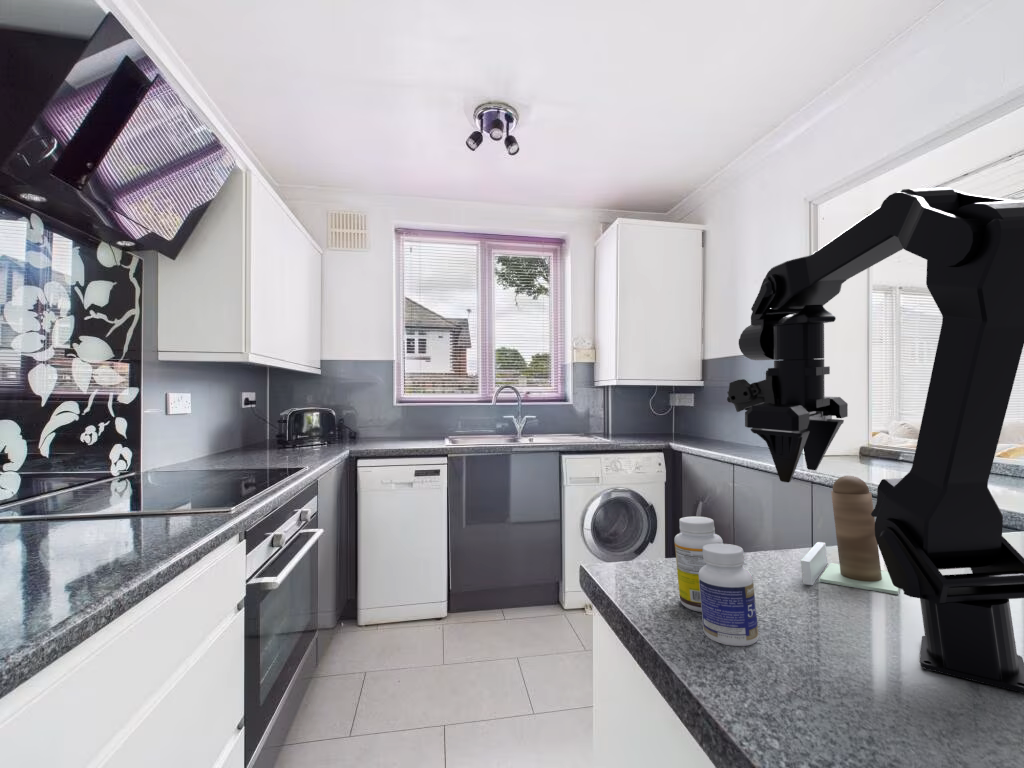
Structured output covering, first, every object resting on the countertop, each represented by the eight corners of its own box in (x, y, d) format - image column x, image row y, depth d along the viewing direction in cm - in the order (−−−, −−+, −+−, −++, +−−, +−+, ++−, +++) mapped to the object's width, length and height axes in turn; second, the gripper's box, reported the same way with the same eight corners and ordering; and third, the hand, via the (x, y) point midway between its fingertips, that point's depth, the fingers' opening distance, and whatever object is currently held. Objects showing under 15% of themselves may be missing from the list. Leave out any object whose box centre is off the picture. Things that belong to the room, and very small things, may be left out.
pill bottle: (763, 650, 44) (754, 556, 45) (705, 644, 46) (697, 554, 47) (754, 626, 49) (745, 542, 50) (701, 622, 51) (694, 540, 52)
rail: (812, 585, 60) (809, 561, 60) (803, 583, 60) (800, 560, 60) (827, 563, 67) (825, 542, 68) (819, 562, 68) (817, 541, 68)
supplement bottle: (708, 594, 59) (701, 513, 60) (740, 610, 53) (731, 521, 54) (670, 600, 57) (663, 517, 58) (698, 618, 52) (690, 526, 53)
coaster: (898, 594, 55) (897, 591, 55) (819, 581, 61) (819, 578, 61) (902, 576, 61) (901, 573, 61) (830, 565, 66) (830, 563, 66)
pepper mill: (869, 583, 58) (856, 478, 59) (833, 574, 62) (822, 475, 63) (889, 577, 60) (876, 475, 61) (852, 568, 64) (841, 473, 65)
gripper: (765, 360, 73) (766, 456, 74) (704, 362, 61) (706, 477, 62) (848, 357, 64) (849, 467, 65) (796, 360, 53) (797, 494, 53)
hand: (799, 475), depth 61 cm, fingers open, 9 cm apart
